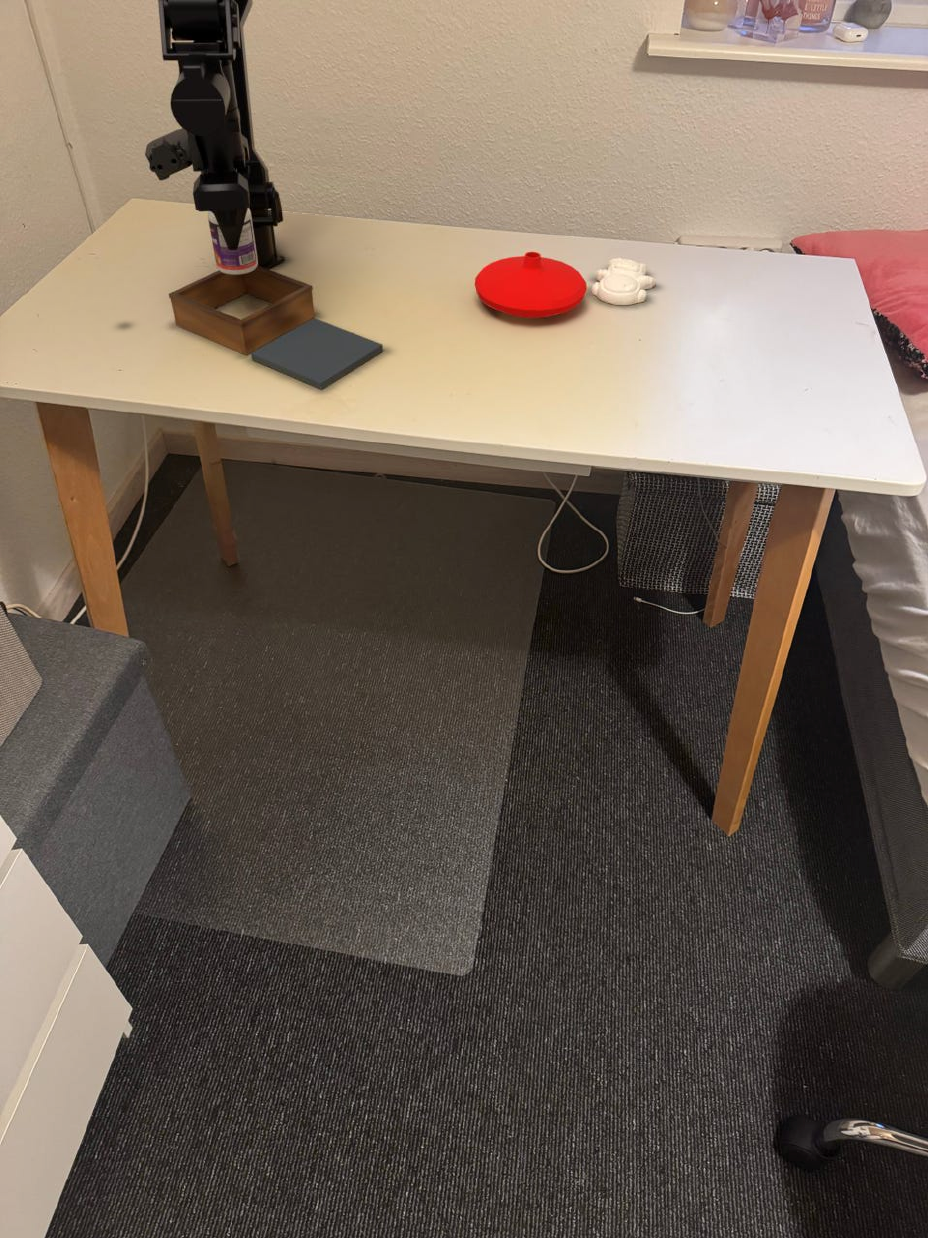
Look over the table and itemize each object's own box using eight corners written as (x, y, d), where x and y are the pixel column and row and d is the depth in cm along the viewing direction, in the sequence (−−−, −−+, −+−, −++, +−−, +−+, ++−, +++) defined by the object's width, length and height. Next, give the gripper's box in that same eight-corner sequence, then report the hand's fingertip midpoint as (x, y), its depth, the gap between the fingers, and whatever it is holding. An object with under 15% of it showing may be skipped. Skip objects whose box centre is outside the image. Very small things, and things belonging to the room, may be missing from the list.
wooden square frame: (246, 289, 135) (241, 259, 132) (315, 316, 130) (312, 285, 126) (175, 325, 127) (168, 293, 124) (246, 355, 122) (241, 323, 119)
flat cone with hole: (455, 314, 131) (455, 265, 126) (500, 270, 141) (503, 223, 136) (560, 340, 126) (565, 290, 121) (600, 292, 136) (606, 244, 131)
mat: (314, 324, 128) (313, 317, 127) (383, 351, 123) (382, 344, 122) (251, 359, 121) (250, 352, 120) (321, 389, 116) (320, 382, 115)
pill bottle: (218, 258, 125) (205, 182, 118) (259, 257, 125) (249, 181, 118) (214, 276, 121) (201, 198, 114) (256, 275, 121) (246, 198, 114)
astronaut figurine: (661, 276, 140) (665, 256, 138) (638, 310, 132) (642, 289, 130) (605, 265, 143) (608, 245, 141) (580, 297, 135) (582, 277, 133)
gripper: (147, 84, 115) (172, 213, 126) (134, 136, 102) (164, 275, 113) (239, 81, 116) (256, 210, 127) (239, 132, 103) (258, 270, 114)
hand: (233, 239), depth 120 cm, fingers closed on pill bottle, 5 cm apart
